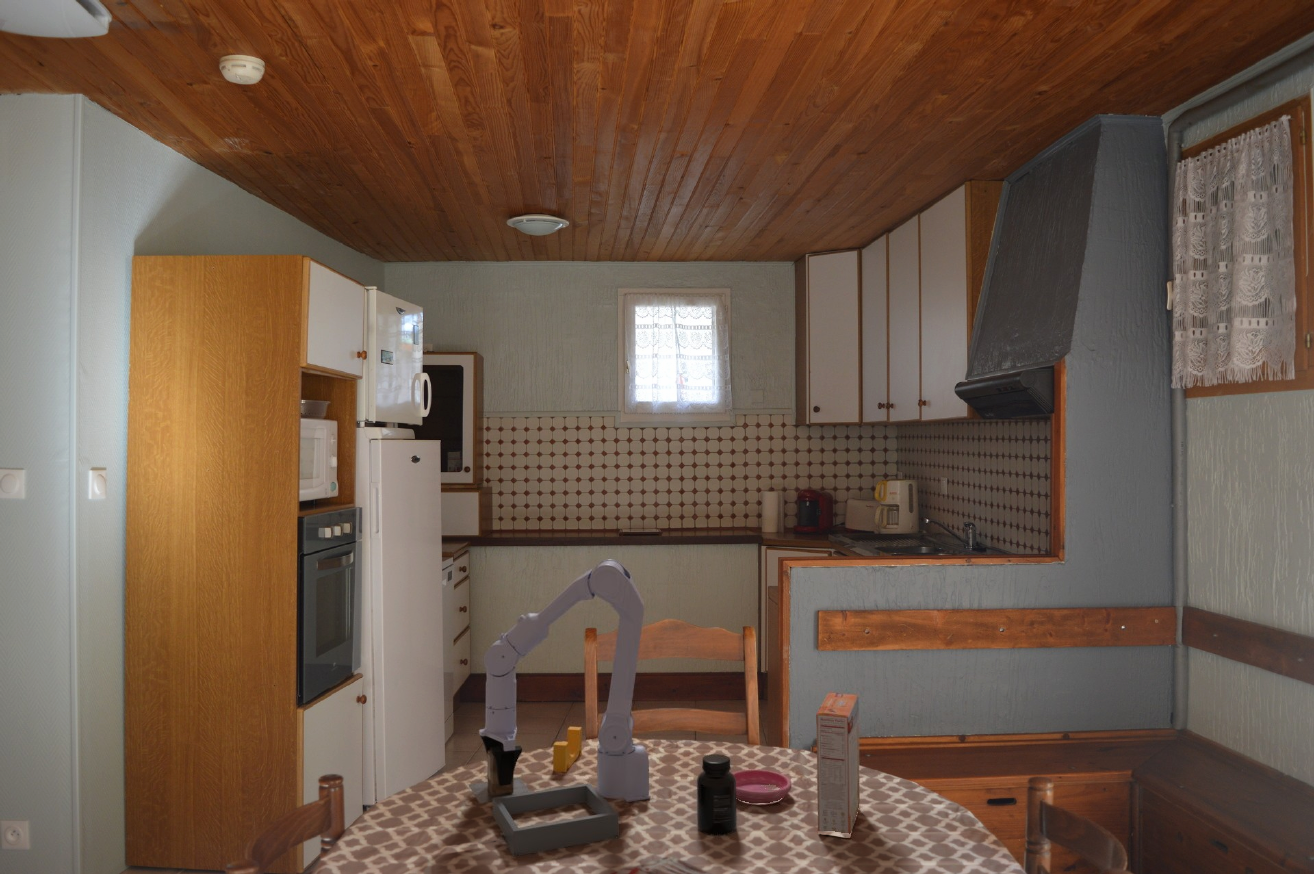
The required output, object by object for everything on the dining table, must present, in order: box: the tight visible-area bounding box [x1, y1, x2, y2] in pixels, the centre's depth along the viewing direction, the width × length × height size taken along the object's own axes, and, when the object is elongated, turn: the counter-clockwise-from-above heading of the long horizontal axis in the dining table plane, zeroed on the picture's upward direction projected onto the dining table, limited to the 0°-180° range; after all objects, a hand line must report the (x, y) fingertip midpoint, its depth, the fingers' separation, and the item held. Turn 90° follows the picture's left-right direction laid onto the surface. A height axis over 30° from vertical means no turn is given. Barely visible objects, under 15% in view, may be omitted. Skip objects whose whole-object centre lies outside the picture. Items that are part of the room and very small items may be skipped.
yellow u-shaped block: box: [552, 726, 583, 773], centre depth 183 cm, size 12×4×6 cm, turn 169°
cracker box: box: [815, 692, 861, 834], centre depth 156 cm, size 14×6×21 cm, turn 160°
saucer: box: [731, 769, 793, 803], centre depth 168 cm, size 12×12×3 cm
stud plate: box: [468, 776, 531, 805], centre depth 167 cm, size 10×10×3 cm
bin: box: [492, 782, 620, 857], centre depth 152 cm, size 18×15×4 cm
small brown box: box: [486, 750, 515, 795], centre depth 167 cm, size 4×4×7 cm
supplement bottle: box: [696, 753, 738, 836], centre depth 153 cm, size 7×7×12 cm
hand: (500, 777), depth 167 cm, fingers open, 7 cm apart
